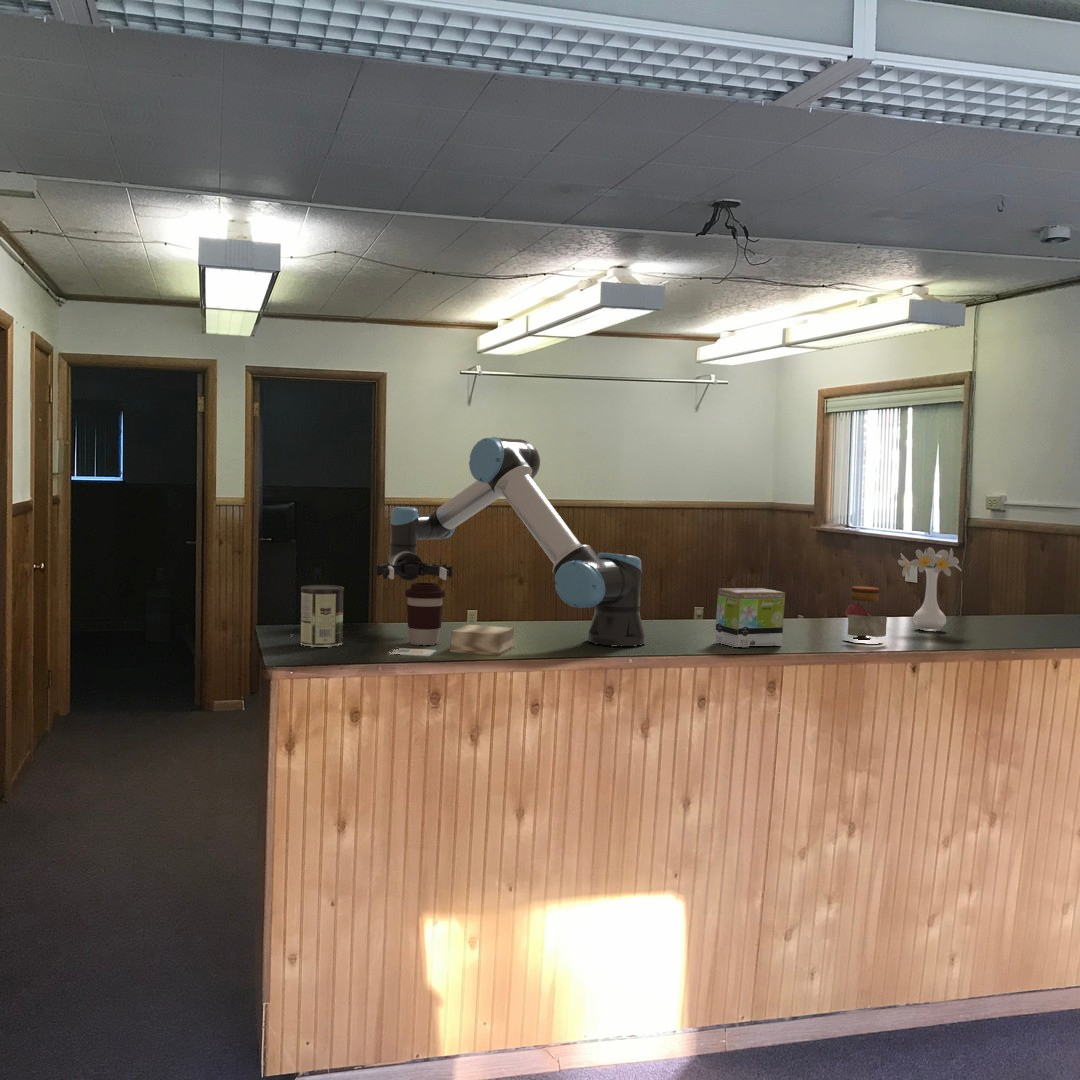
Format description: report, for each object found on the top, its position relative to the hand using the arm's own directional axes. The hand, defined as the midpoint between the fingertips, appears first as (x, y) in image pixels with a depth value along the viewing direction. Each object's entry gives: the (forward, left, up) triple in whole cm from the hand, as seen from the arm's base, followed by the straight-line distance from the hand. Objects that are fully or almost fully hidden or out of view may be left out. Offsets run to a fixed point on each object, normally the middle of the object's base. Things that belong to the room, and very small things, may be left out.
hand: (419, 574), depth 277 cm
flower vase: (-131, -81, -17) cm, 155 cm away
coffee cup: (-5, +9, -17) cm, 19 cm away
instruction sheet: (-7, +22, -16) cm, 28 cm away
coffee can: (+17, +21, -17) cm, 31 cm away
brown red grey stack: (-111, -48, -17) cm, 122 cm away
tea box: (-82, -28, -17) cm, 89 cm away
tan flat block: (-21, +11, -16) cm, 29 cm away
